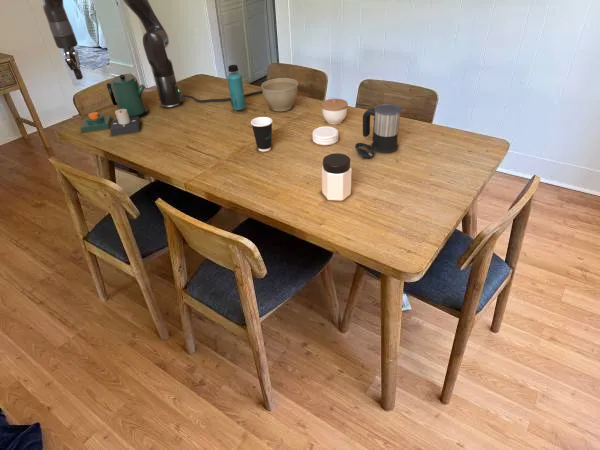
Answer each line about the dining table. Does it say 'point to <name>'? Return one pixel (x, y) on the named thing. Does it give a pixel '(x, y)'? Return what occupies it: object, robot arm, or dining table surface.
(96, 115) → the button
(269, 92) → the planter bowl
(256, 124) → the dixie cup
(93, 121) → the switch block
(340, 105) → the trinket box
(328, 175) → the jar
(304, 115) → the dining table surface
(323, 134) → the coaster
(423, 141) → the dining table surface
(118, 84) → the kettle
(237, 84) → the beverage bottle
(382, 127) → the milk frother
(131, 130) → the dial base
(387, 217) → the dining table surface
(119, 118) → the dial
